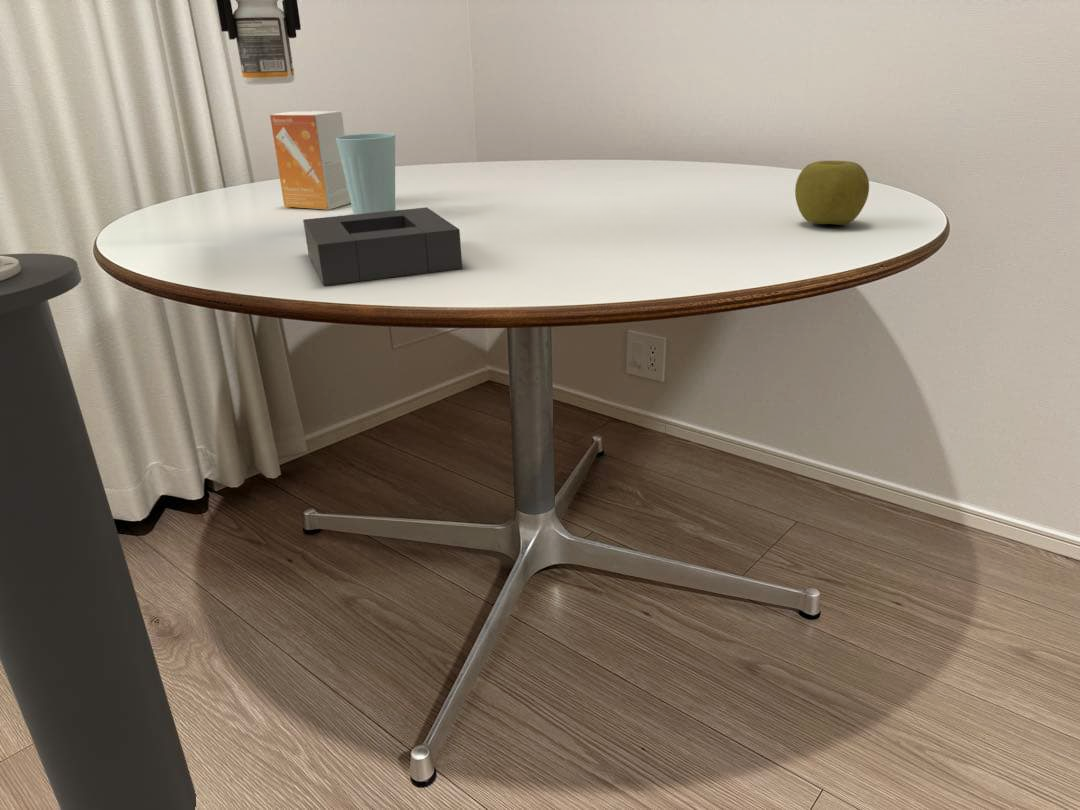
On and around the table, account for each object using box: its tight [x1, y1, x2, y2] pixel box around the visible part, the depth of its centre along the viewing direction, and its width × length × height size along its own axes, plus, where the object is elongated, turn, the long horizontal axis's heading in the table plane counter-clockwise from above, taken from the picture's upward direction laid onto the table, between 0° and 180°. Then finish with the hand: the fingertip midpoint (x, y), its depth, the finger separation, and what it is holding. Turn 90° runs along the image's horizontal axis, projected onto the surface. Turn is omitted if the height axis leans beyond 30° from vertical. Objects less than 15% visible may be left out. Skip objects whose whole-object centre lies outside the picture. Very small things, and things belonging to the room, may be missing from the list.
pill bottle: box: [233, 0, 295, 86], centre depth 90 cm, size 6×6×10 cm
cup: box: [336, 132, 396, 215], centre depth 106 cm, size 8×8×10 cm
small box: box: [269, 110, 351, 211], centre depth 114 cm, size 8×6×13 cm
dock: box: [302, 206, 463, 287], centre depth 83 cm, size 14×14×4 cm
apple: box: [794, 160, 870, 226], centre depth 91 cm, size 8×8×7 cm
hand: (262, 36), depth 90 cm, fingers closed on pill bottle, 5 cm apart
